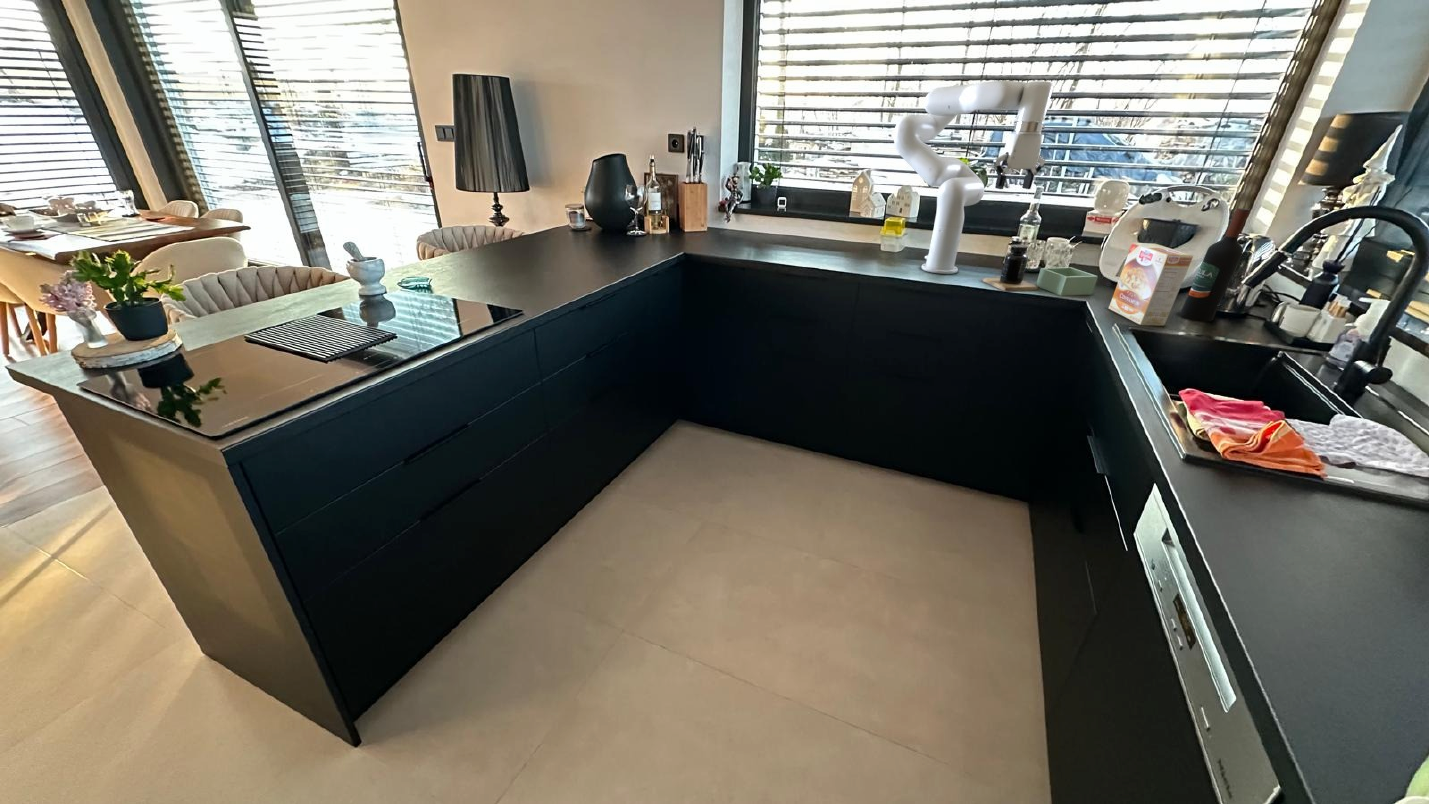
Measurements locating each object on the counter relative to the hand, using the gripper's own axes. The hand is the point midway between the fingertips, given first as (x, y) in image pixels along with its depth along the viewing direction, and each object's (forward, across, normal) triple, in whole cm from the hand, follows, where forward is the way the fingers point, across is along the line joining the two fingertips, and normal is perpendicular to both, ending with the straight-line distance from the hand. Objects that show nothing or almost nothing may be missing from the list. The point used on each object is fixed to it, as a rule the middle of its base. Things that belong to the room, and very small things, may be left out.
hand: (1012, 188), depth 176 cm
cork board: (+30, -5, +4) cm, 31 cm away
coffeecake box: (+31, -21, +38) cm, 53 cm away
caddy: (+30, -20, +11) cm, 38 cm away
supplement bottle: (+29, -5, +4) cm, 30 cm away
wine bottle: (+31, -39, +41) cm, 64 cm away
